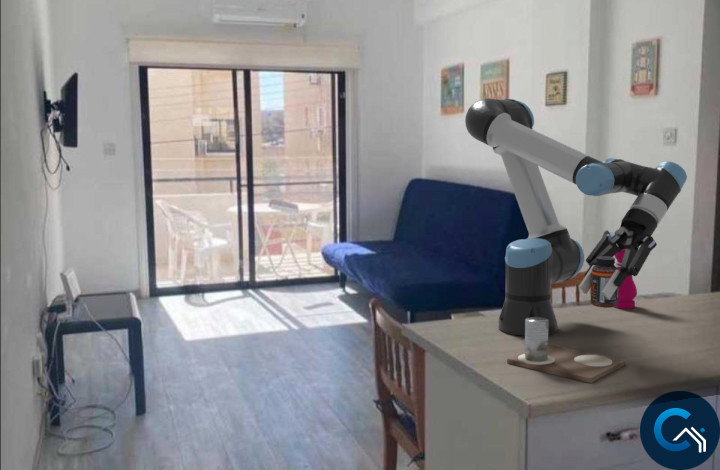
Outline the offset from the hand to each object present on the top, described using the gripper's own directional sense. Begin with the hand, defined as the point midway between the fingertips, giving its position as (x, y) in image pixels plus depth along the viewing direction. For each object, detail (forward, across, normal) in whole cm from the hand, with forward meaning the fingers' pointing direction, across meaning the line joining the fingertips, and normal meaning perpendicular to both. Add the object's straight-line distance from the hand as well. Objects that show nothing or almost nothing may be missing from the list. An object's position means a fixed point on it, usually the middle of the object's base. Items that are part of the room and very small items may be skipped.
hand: (593, 292), depth 161 cm
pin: (+21, +2, +1) cm, 22 cm away
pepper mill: (-21, +26, -42) cm, 54 cm away
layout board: (+18, -2, -3) cm, 18 cm away
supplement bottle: (0, 0, -5) cm, 5 cm away
